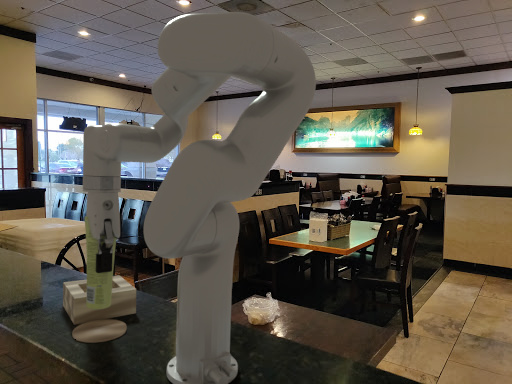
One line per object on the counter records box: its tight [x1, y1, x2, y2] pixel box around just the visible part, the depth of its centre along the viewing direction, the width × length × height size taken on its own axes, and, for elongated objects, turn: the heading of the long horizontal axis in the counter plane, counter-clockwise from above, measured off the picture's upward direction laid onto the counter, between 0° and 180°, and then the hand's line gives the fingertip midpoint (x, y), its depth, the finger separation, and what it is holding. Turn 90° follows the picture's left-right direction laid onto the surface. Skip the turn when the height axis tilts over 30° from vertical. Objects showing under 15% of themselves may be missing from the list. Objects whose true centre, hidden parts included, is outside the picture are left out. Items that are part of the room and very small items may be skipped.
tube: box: [84, 215, 117, 310], centre depth 84 cm, size 6×5×20 cm
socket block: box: [62, 275, 137, 326], centre depth 97 cm, size 14×14×6 cm
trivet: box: [71, 318, 128, 344], centre depth 84 cm, size 11×11×1 cm
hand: (100, 267), depth 84 cm, fingers closed on tube, 4 cm apart
